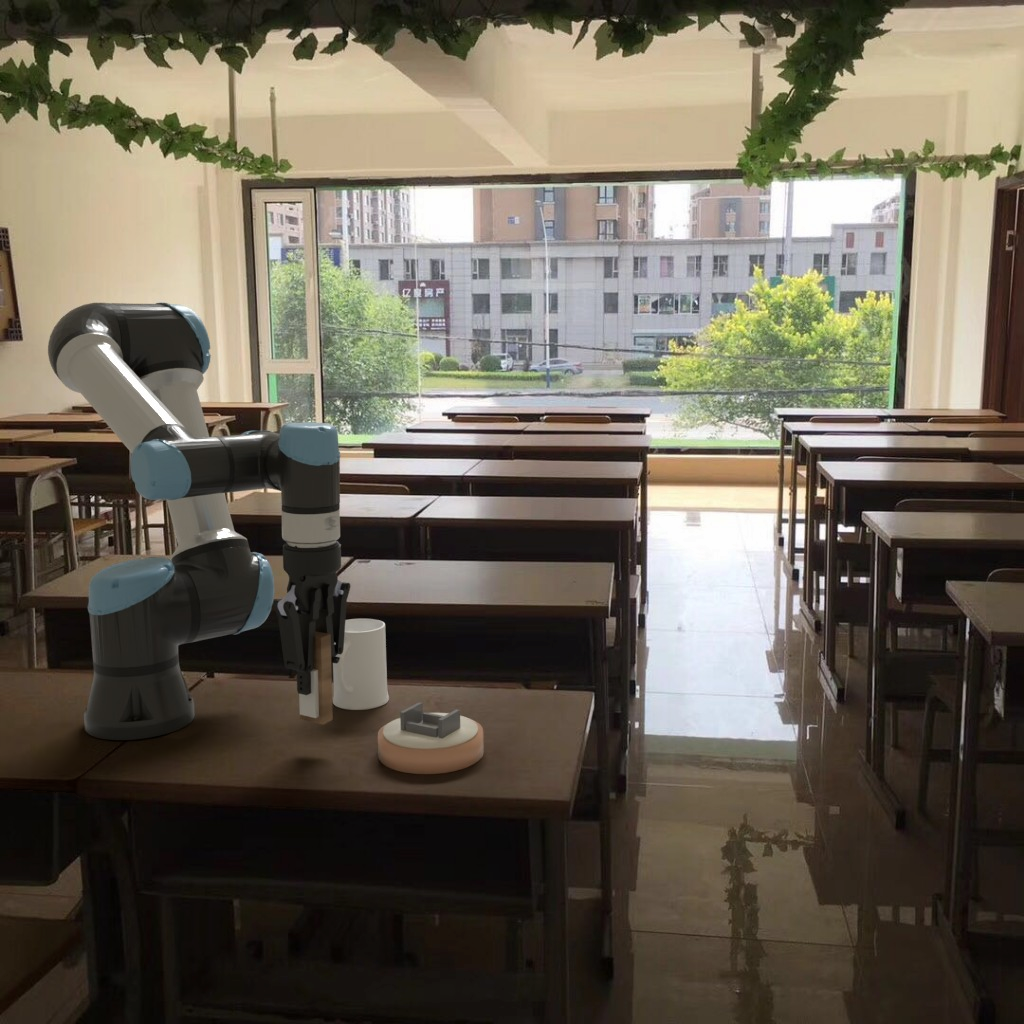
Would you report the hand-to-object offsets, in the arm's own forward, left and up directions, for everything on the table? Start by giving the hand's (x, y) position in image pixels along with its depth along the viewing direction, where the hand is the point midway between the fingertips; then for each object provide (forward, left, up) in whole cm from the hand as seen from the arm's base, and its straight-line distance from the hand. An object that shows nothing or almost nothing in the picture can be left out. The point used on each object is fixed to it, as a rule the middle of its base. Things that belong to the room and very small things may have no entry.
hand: (315, 711), depth 145 cm
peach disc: (+15, +6, -5) cm, 17 cm away
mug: (-6, +17, -5) cm, 19 cm away
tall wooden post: (0, 0, -1) cm, 1 cm away
